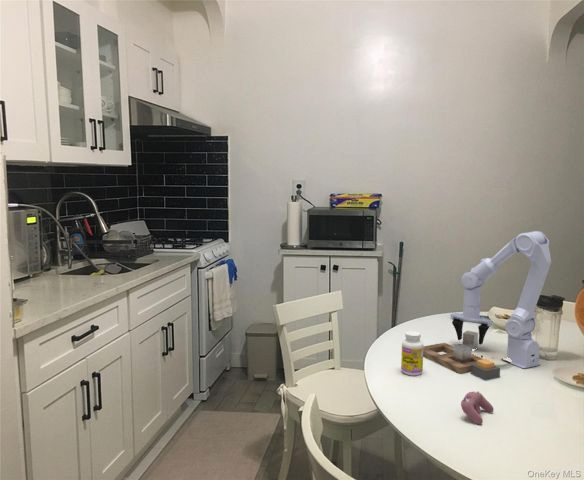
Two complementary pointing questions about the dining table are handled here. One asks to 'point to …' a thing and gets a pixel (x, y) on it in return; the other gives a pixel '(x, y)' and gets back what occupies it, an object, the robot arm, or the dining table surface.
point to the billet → (462, 354)
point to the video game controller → (475, 406)
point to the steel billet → (470, 339)
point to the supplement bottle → (412, 354)
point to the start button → (485, 364)
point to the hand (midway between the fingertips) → (470, 341)
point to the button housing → (485, 372)
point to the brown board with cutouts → (447, 357)
